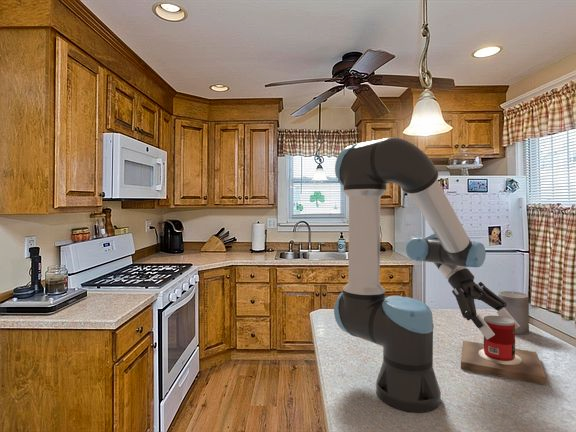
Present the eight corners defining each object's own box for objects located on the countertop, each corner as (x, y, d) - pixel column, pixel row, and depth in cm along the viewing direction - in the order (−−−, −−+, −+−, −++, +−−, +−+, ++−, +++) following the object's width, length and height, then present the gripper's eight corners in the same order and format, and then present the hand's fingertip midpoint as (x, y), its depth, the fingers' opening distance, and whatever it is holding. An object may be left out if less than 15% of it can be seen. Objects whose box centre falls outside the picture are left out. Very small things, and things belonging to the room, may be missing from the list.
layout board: (460, 368, 100) (460, 360, 100) (463, 346, 115) (463, 339, 115) (546, 384, 90) (546, 376, 90) (536, 358, 106) (536, 351, 106)
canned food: (519, 362, 98) (519, 324, 98) (489, 360, 100) (489, 322, 100) (508, 351, 106) (508, 316, 105) (480, 349, 107) (480, 314, 107)
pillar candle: (514, 325, 136) (514, 287, 136) (535, 333, 126) (535, 293, 126) (492, 326, 135) (491, 288, 134) (511, 335, 125) (511, 294, 125)
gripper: (471, 276, 123) (516, 331, 110) (425, 284, 110) (470, 347, 98) (486, 263, 118) (535, 319, 106) (440, 270, 106) (489, 334, 93)
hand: (504, 332), depth 102 cm, fingers open, 13 cm apart
